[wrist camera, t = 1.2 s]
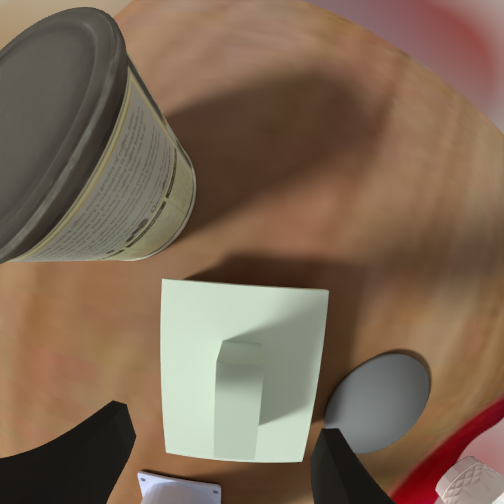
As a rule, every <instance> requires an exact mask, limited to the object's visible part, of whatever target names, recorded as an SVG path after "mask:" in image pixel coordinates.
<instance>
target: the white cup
mask: <svg viewBox="0 0 504 504" xmlns="http://www.w3.org/2000/svg"><path fill="white" fill-rule="evenodd" d="M435 490H436V492H437V493H438V495H439V496H440V497H441V499H442V501H443V503H444V504H504V477H503V476H502V475H500V474H499V473H497V472H496V471H495V470H493V469H491V468H490V467H488V466H487V465H485V464H483V463H481V462H480V461H479V460H477V459H476V458H475V457H473V456H467V457H465V458H463V459H462V460H460V461H458V462H457V463H456V464H454V465H453V466H452V467H451V468H450V469H449V470H448V471H447V472H446V473H445V474H444V475H443V476H442V478H441V479H440V480H439V482H438V483H437V486H436V489H435Z"/></svg>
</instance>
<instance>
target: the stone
mask: <svg viewBox="0 0 504 504" xmlns="http://www.w3.org/2000/svg"><path fill="white" fill-rule="evenodd" d="M428 395H429V378H428V375H427V372H426V370H425V368H424V367H423V366H422V364H421V363H420V362H418V361H417V360H415V359H414V358H412V357H410V356H408V355H405V354H400V353H389V354H383V355H380V356H376V357H374V358H371V359H369V360H367V361H365V362H363V363H362V364H360V365H359V366H357V367H356V368H355V369H353V370H352V371H351V372H350V373H349V374H347V375H346V376H345V377H344V378H343V379H342V381H341V382H340V383H339V384H338V385H337V387H336V388H335V390H334V391H333V393H332V395H331V396H330V398H329V401H328V403H327V406H326V409H325V415H324V425H325V429H326V428H338V429H340V431H341V433H342V434H343V436H344V438H345V439H346V441H347V443H348V444H349V446H350V447H351V449H352V451H353V452H354V453H355V454H363V453H370V452H374V451H377V450H380V449H383V448H385V447H387V446H389V445H391V444H393V443H394V442H396V441H397V440H399V439H400V438H401V437H402V436H404V435H405V434H406V433H407V432H408V431H409V430H410V429H411V428H412V427H413V425H414V424H415V423H416V422H417V420H418V419H419V417H420V416H421V414H422V412H423V410H424V408H425V405H426V403H427V399H428Z"/></svg>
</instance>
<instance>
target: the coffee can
mask: <svg viewBox="0 0 504 504" xmlns="http://www.w3.org/2000/svg"><path fill="white" fill-rule="evenodd" d="M195 195H196V176H195V172H194V168H193V165H192V162H191V160H190V158H189V156H188V155H187V153H186V152H185V151H184V149H183V148H182V146H181V145H180V143H179V141H178V139H177V138H176V136H175V134H174V133H173V131H172V129H171V127H170V126H169V124H168V122H167V120H166V118H165V117H164V115H163V113H162V111H161V109H160V108H159V106H158V104H157V103H156V101H155V99H154V98H153V96H152V94H151V92H150V91H149V89H148V87H147V85H146V84H145V82H144V80H143V78H142V76H141V75H140V73H139V71H138V69H137V67H136V66H135V64H134V62H133V60H132V59H131V57H130V55H129V53H128V52H127V50H126V46H125V41H124V38H123V35H122V33H121V31H120V29H119V27H118V25H117V23H116V22H115V20H114V19H113V18H112V17H111V16H110V15H109V14H107V13H105V12H104V11H102V10H99V9H96V8H91V7H79V8H72V9H67V10H64V11H61V12H58V13H55V14H53V15H51V16H48V17H46V18H44V19H42V20H41V21H38V22H37V23H35V24H33V25H32V26H30V27H29V28H27V29H26V30H24V31H23V32H22V33H20V34H19V35H18V36H16V38H14V39H13V40H12V41H11V42H9V43H8V44H7V45H6V46H5V47H4V48H3V49H2V50H1V51H0V264H2V263H4V262H40V261H93V260H122V261H135V260H141V259H145V258H148V257H150V256H153V255H155V254H157V253H159V252H160V251H162V250H164V249H165V248H166V247H168V246H169V245H170V244H171V243H172V242H173V241H174V240H175V239H176V238H177V237H178V235H179V234H180V233H181V231H182V230H183V229H184V227H185V225H186V223H187V221H188V220H189V217H190V215H191V212H192V209H193V206H194V203H195Z"/></svg>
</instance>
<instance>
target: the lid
mask: <svg viewBox="0 0 504 504" xmlns="http://www.w3.org/2000/svg"><path fill="white" fill-rule="evenodd" d="M328 297H329V290H326V289H310V288H292V287H275V286H259V285H245V284H231V283H218V282H206V281H194V280H183V279H172V278H164V279H162V295H161V388H162V408H163V423H164V435H165V446H166V452H167V453H172V454H178V455H184V456H190V457H198V458H206V459H215V460H225V461H240V462H302V460H303V456H304V451H305V447H306V442H307V437H308V433H309V428H310V423H311V418H312V412H313V407H314V401H315V396H316V390H317V384H318V377H319V371H320V364H321V357H322V350H323V342H324V334H325V326H326V317H327V307H328Z"/></svg>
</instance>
